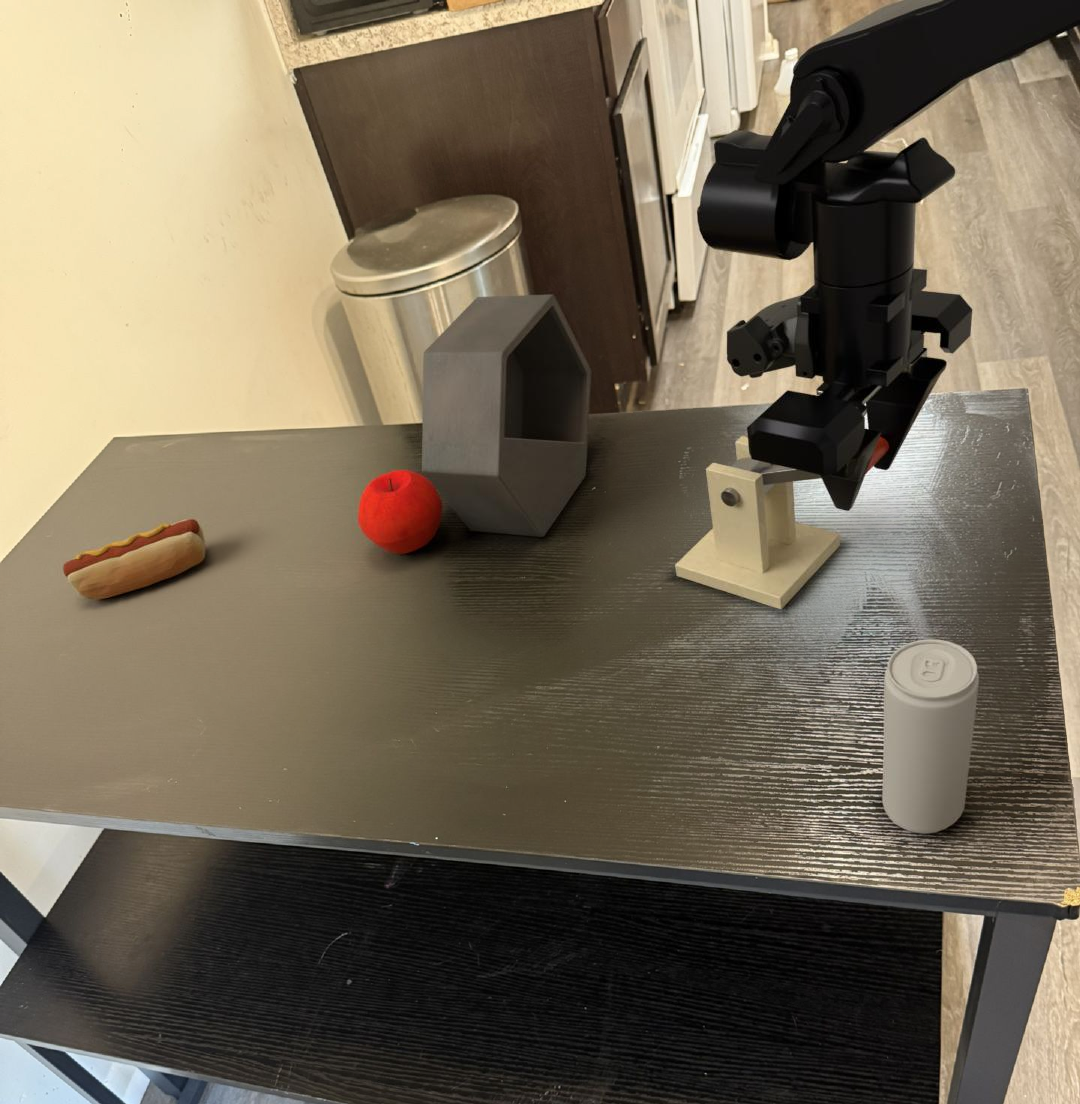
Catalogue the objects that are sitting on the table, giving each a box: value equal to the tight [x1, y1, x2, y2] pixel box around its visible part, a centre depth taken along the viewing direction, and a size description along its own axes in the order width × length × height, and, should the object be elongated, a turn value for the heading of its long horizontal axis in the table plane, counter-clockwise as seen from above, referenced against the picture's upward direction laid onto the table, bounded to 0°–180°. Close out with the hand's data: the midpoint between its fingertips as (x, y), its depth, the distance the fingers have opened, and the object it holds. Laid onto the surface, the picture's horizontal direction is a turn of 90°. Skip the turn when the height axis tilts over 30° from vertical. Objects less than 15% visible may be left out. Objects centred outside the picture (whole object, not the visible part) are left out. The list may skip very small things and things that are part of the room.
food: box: [62, 518, 207, 601], centre depth 101 cm, size 14×6×5 cm, turn 106°
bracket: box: [674, 435, 841, 610], centre depth 80 cm, size 10×9×10 cm
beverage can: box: [881, 638, 980, 835], centre depth 58 cm, size 5×5×12 cm
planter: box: [421, 294, 592, 538], centre depth 91 cm, size 17×8×21 cm
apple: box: [357, 469, 443, 555], centre depth 94 cm, size 8×8×7 cm
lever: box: [730, 437, 889, 495], centre depth 74 cm, size 12×5×2 cm, turn 49°
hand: (863, 487), depth 71 cm, fingers closed on lever, 5 cm apart
